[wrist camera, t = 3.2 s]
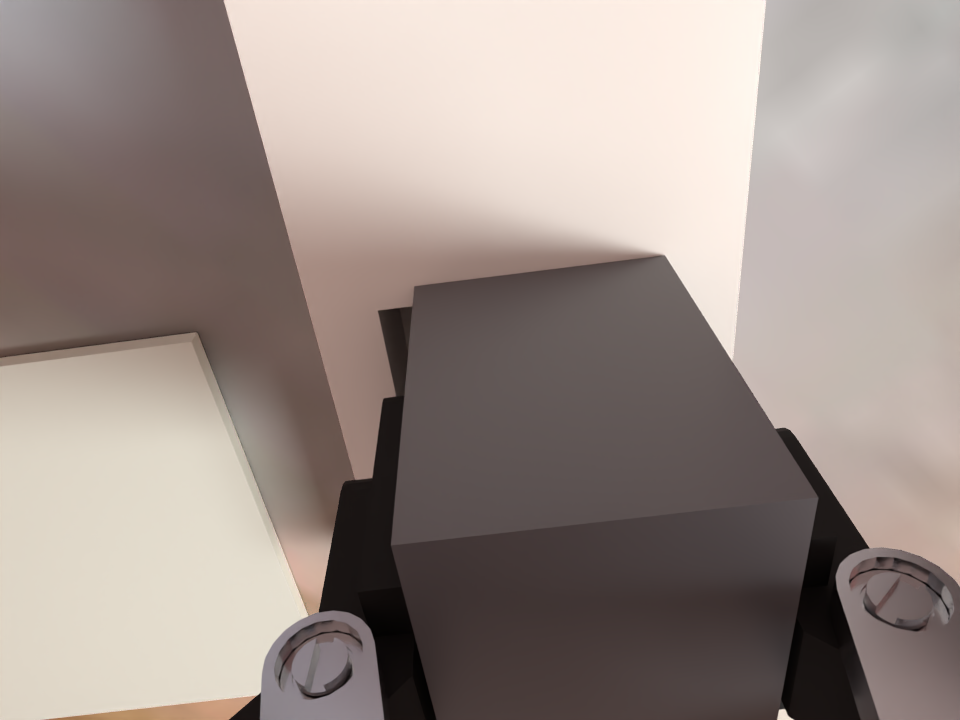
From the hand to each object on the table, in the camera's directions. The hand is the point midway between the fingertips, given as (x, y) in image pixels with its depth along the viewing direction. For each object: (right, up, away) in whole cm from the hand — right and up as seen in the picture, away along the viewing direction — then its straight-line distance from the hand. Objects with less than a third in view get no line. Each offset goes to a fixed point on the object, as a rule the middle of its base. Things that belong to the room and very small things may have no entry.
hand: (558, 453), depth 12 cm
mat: (-12, -4, +7) cm, 15 cm away
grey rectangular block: (0, +2, +3) cm, 4 cm away
